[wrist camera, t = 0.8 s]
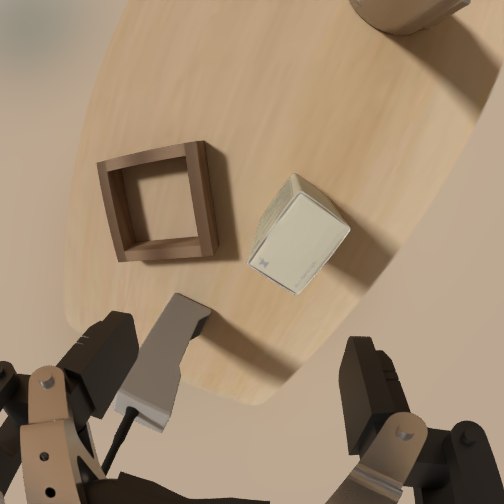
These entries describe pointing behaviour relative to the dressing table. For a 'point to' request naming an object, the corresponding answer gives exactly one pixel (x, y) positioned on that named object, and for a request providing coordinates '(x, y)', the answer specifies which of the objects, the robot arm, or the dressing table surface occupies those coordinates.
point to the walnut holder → (121, 218)
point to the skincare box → (297, 235)
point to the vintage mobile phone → (157, 370)
